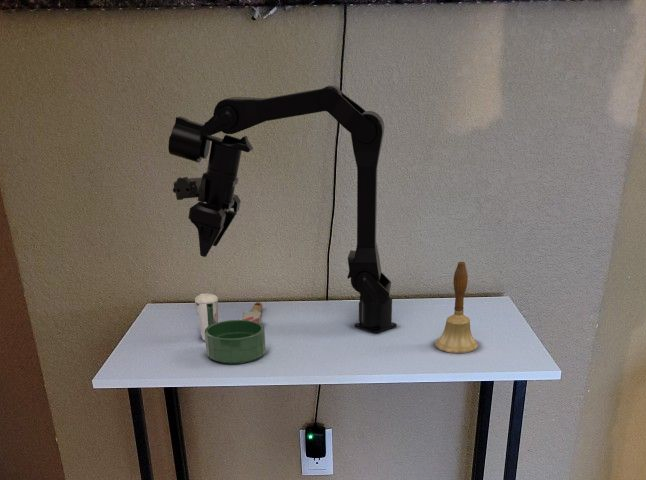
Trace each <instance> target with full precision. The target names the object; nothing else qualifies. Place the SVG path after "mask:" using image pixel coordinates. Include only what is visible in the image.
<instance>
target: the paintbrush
mask: <svg viewBox="0 0 646 480" xmlns="http://www.w3.org/2000/svg"><path fill="white" fill-rule="evenodd" d="M263 307H264V306H263V303H262V302H260V301H256V302H255V303H254V304H253V307H252V309H251V311H243V312H242V317H241V320H249V321H255V322H258V323H260V324H262V325H263V321H262V310H263Z"/></svg>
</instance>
